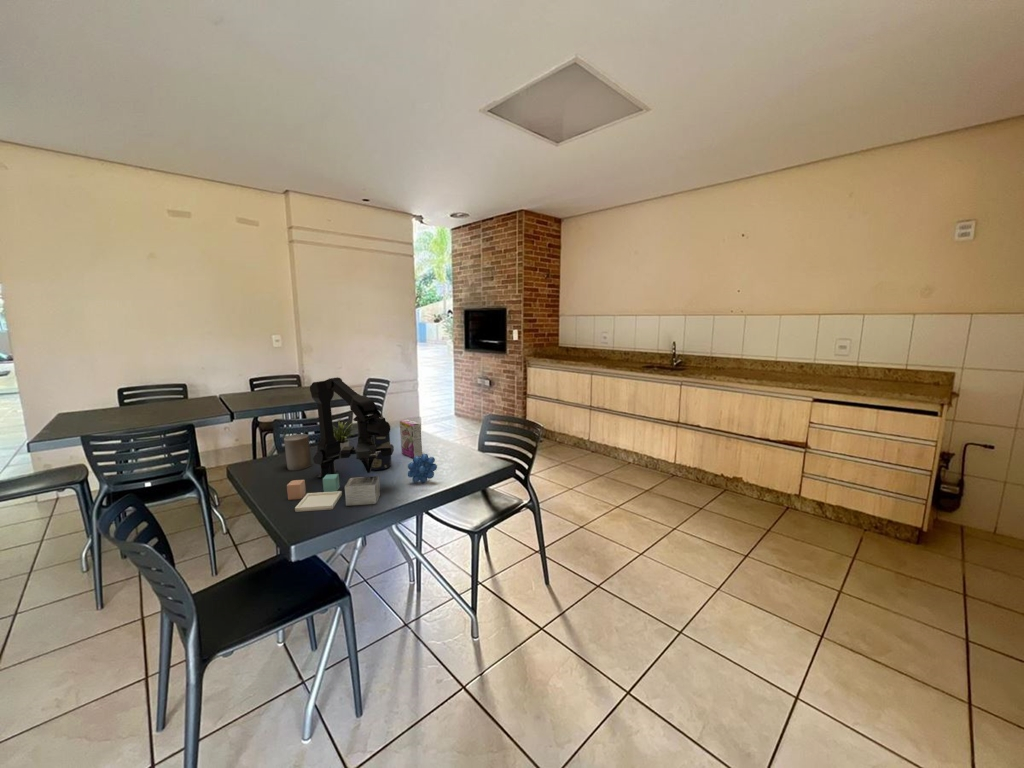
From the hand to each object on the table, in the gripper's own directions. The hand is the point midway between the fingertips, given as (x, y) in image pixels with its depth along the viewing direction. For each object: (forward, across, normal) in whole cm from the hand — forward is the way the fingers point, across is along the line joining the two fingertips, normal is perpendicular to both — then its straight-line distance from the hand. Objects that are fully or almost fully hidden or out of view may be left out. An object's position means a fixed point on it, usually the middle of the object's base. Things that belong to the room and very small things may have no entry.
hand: (368, 472), depth 156 cm
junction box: (+6, 0, -11) cm, 13 cm away
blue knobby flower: (+6, +20, +2) cm, 21 cm away
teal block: (+6, -14, 0) cm, 15 cm away
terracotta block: (+6, -25, -4) cm, 26 cm away
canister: (+6, 0, +22) cm, 23 cm away
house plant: (+6, -22, +43) cm, 49 cm away
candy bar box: (+6, +12, +36) cm, 38 cm away
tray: (+6, -15, -11) cm, 20 cm away
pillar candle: (+6, -36, +29) cm, 47 cm away
